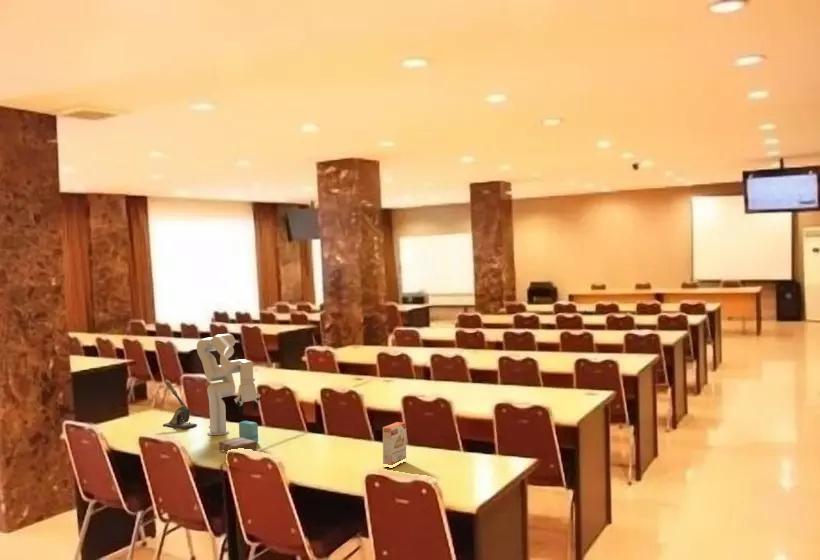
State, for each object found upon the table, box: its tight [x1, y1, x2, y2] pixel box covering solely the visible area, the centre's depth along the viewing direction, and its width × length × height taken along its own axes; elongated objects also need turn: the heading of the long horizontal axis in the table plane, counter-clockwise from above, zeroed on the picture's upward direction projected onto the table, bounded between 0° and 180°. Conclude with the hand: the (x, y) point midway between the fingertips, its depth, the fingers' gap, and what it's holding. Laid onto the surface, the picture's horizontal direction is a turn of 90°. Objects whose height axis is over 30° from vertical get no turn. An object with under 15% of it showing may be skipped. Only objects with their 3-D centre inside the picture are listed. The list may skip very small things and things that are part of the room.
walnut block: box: [218, 437, 257, 452], centre depth 406 cm, size 16×14×5 cm
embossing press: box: [162, 379, 198, 430], centre depth 468 cm, size 11×24×30 cm, turn 54°
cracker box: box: [382, 421, 407, 465], centre depth 369 cm, size 14×6×21 cm, turn 148°
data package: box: [238, 420, 259, 444], centre depth 422 cm, size 12×4×12 cm, turn 51°
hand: (248, 410), depth 421 cm, fingers open, 9 cm apart
